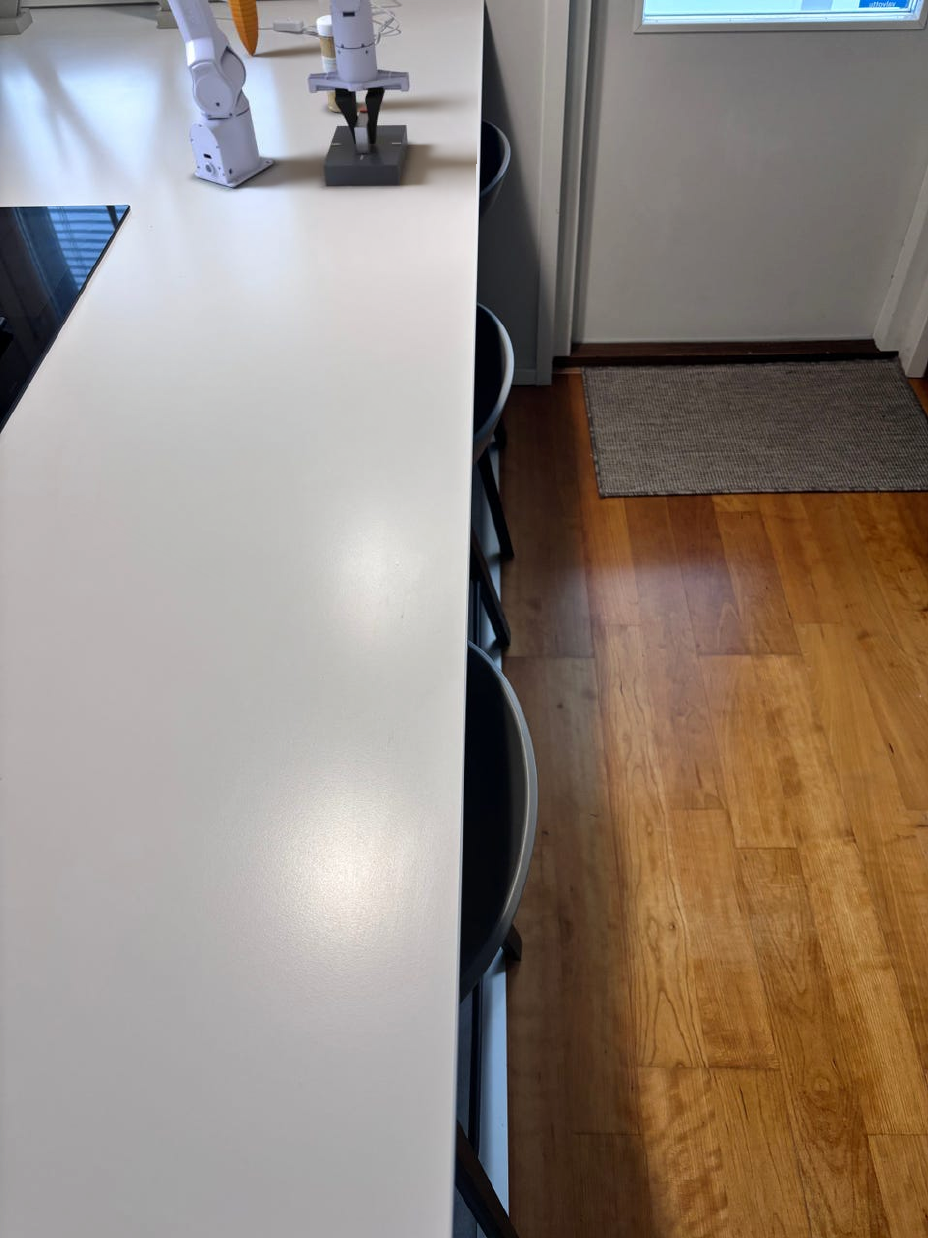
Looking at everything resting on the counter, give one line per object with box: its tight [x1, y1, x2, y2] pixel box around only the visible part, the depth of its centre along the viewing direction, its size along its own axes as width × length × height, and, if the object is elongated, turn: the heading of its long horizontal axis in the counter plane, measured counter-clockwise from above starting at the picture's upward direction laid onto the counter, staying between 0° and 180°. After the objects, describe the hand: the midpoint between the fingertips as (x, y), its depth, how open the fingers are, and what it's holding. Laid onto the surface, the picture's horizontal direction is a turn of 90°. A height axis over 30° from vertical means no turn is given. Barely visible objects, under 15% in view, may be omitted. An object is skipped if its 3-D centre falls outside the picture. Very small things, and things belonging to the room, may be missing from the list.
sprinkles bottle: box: [316, 14, 342, 114], centre depth 156 cm, size 5×5×13 cm
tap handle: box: [354, 107, 371, 154], centre depth 143 cm, size 6×2×4 cm, turn 177°
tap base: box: [322, 124, 409, 187], centre depth 145 cm, size 14×11×3 cm
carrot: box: [227, 0, 259, 57], centre depth 173 cm, size 5×5×15 cm
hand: (365, 140), depth 144 cm, fingers closed on tap handle, 2 cm apart
